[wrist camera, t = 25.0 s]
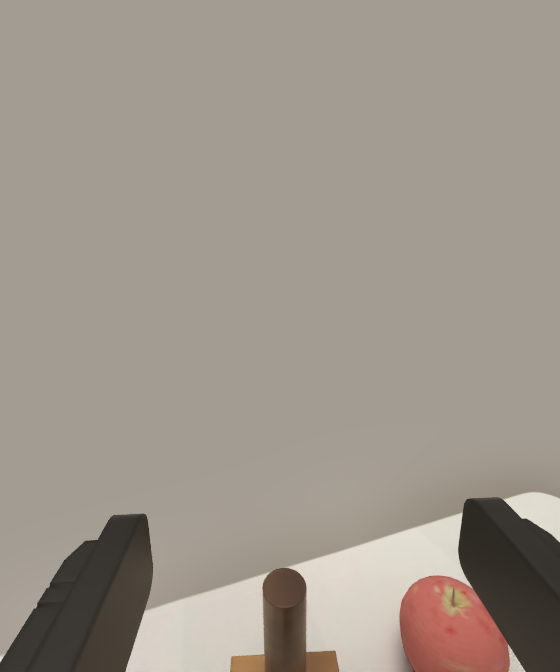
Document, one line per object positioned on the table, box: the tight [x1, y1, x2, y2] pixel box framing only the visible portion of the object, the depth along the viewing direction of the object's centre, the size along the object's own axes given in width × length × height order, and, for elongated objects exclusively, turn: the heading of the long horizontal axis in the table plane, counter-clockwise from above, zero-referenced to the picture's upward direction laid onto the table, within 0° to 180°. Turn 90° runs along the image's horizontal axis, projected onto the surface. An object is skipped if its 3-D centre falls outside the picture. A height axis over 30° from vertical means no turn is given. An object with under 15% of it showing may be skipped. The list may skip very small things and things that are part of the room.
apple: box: [400, 576, 510, 672], centre depth 28 cm, size 7×7×8 cm
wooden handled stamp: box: [230, 568, 339, 672], centre depth 24 cm, size 8×5×12 cm, turn 92°
